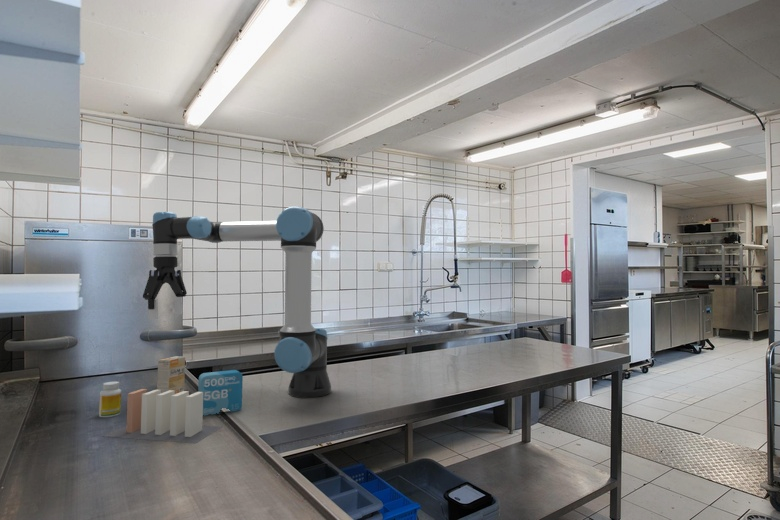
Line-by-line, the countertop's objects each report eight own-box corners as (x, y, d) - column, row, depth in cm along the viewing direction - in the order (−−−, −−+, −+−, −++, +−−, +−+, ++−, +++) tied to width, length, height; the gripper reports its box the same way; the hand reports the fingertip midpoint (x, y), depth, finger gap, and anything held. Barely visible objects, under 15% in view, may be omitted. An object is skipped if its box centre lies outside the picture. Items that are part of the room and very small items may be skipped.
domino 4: (187, 429, 114) (188, 391, 114) (175, 435, 109) (176, 396, 109) (182, 428, 114) (183, 390, 114) (169, 435, 109) (171, 395, 109)
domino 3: (173, 428, 114) (174, 390, 115) (160, 434, 109) (162, 395, 110) (168, 427, 115) (169, 390, 115) (155, 434, 110) (156, 395, 110)
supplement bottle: (95, 416, 125) (96, 383, 126) (115, 411, 130) (116, 380, 130) (104, 419, 122) (105, 385, 123) (124, 414, 127) (125, 382, 127)
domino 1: (145, 426, 116) (147, 389, 116) (131, 432, 111) (133, 393, 111) (140, 426, 116) (141, 388, 116) (126, 432, 111) (127, 393, 112)
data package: (200, 417, 125) (201, 376, 125) (197, 413, 129) (198, 373, 129) (242, 411, 131) (242, 371, 132) (238, 407, 135) (239, 369, 136)
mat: (222, 428, 116) (222, 426, 116) (195, 444, 104) (195, 443, 104) (137, 422, 120) (137, 421, 120) (102, 437, 108) (102, 436, 108)
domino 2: (159, 427, 115) (160, 389, 116) (146, 433, 110) (147, 394, 111) (154, 426, 115) (155, 389, 116) (140, 433, 110) (142, 394, 111)
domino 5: (202, 430, 113) (203, 392, 113) (190, 436, 108) (191, 397, 109) (196, 429, 113) (197, 391, 114) (184, 436, 108) (185, 396, 109)
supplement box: (168, 399, 144) (169, 360, 144) (156, 398, 145) (157, 359, 145) (184, 393, 152) (186, 356, 152) (173, 392, 153) (174, 355, 153)
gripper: (177, 257, 162) (178, 313, 162) (129, 255, 138) (130, 321, 137) (196, 257, 162) (197, 312, 161) (150, 254, 137) (151, 320, 136)
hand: (166, 316), depth 149 cm, fingers open, 13 cm apart
